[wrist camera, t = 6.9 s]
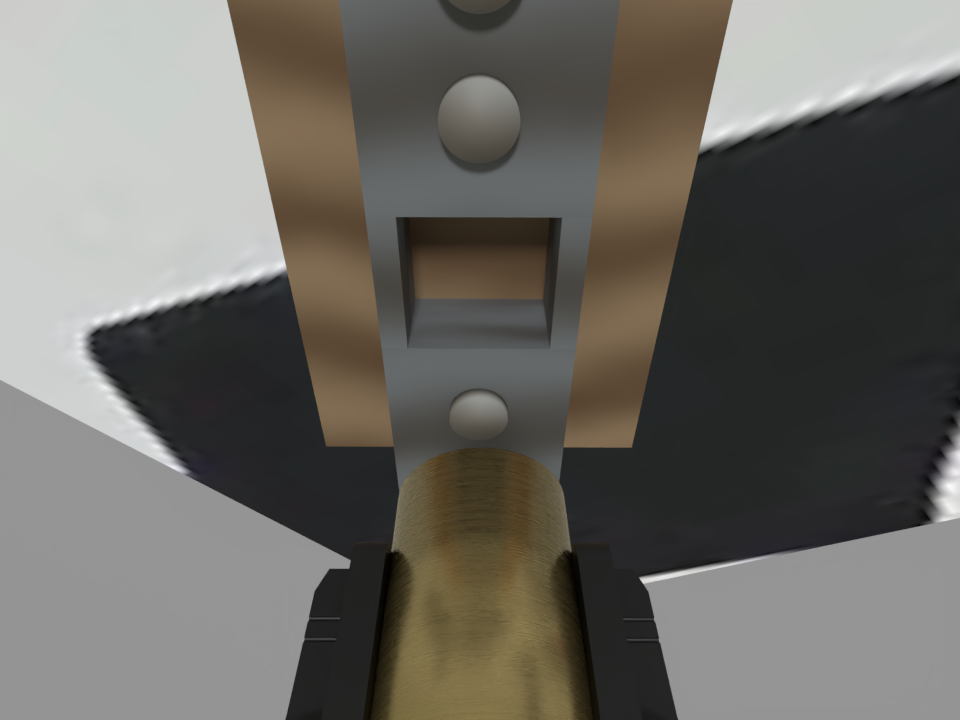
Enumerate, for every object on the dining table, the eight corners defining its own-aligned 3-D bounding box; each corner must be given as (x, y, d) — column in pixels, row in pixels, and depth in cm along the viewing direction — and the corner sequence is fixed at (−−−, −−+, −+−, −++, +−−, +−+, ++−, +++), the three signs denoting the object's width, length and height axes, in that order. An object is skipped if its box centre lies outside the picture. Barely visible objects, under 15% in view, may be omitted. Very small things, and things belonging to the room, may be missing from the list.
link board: (209, -144, 18) (130, -145, 14) (750, -143, 18) (828, -143, 14) (330, 429, 33) (309, 510, 29) (627, 431, 33) (647, 511, 29)
